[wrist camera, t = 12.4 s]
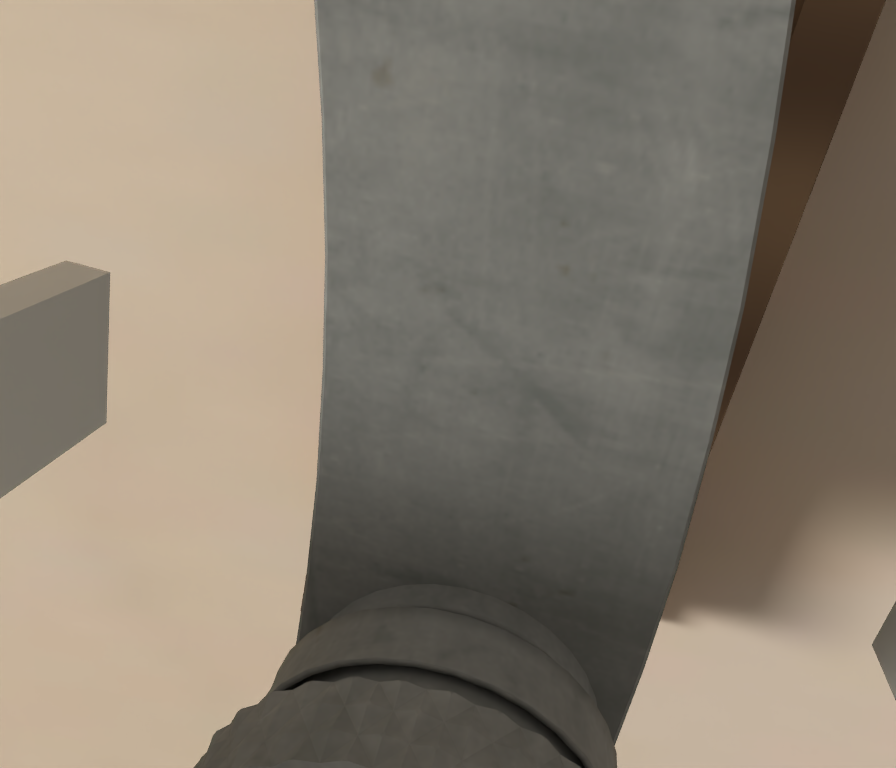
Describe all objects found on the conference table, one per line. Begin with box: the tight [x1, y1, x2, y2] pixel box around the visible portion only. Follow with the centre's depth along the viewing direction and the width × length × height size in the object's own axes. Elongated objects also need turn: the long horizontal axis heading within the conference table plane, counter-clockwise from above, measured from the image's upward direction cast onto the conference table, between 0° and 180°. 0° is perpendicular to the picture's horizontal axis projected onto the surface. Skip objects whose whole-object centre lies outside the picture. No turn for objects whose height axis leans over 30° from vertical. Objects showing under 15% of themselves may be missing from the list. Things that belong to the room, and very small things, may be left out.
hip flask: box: [194, 0, 796, 768], centre depth 14 cm, size 16×4×20 cm, turn 168°
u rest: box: [301, 0, 886, 609], centre depth 22 cm, size 24×12×6 cm, turn 168°
